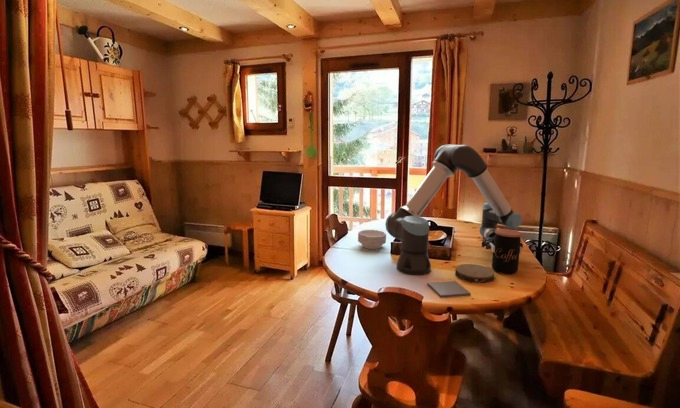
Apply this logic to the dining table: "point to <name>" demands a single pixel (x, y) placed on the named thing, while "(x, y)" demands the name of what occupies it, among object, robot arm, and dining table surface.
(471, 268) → the grey round disc
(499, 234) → the coffee jar
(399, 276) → the dining table surface
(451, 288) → the slate coaster
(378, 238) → the paper bowls
